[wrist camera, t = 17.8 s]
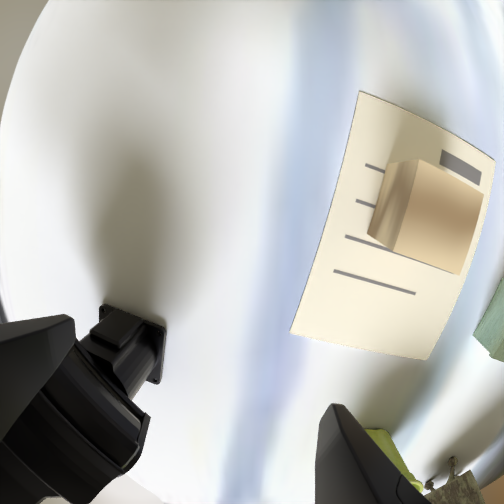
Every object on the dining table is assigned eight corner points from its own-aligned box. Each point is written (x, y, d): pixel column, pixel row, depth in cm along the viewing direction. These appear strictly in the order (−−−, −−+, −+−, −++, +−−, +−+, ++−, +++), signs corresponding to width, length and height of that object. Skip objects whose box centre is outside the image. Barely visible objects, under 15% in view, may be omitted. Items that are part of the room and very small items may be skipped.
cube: (424, 254, 18) (459, 275, 13) (366, 233, 18) (392, 251, 13) (443, 189, 16) (483, 194, 11) (387, 164, 16) (419, 158, 12)
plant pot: (303, 443, 23) (303, 511, 15) (385, 402, 21) (409, 472, 13) (342, 472, 24) (348, 528, 16) (412, 438, 22) (431, 494, 14)
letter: (426, 359, 20) (426, 360, 19) (289, 332, 20) (289, 333, 20) (495, 161, 15) (495, 161, 15) (359, 91, 16) (359, 91, 15)
